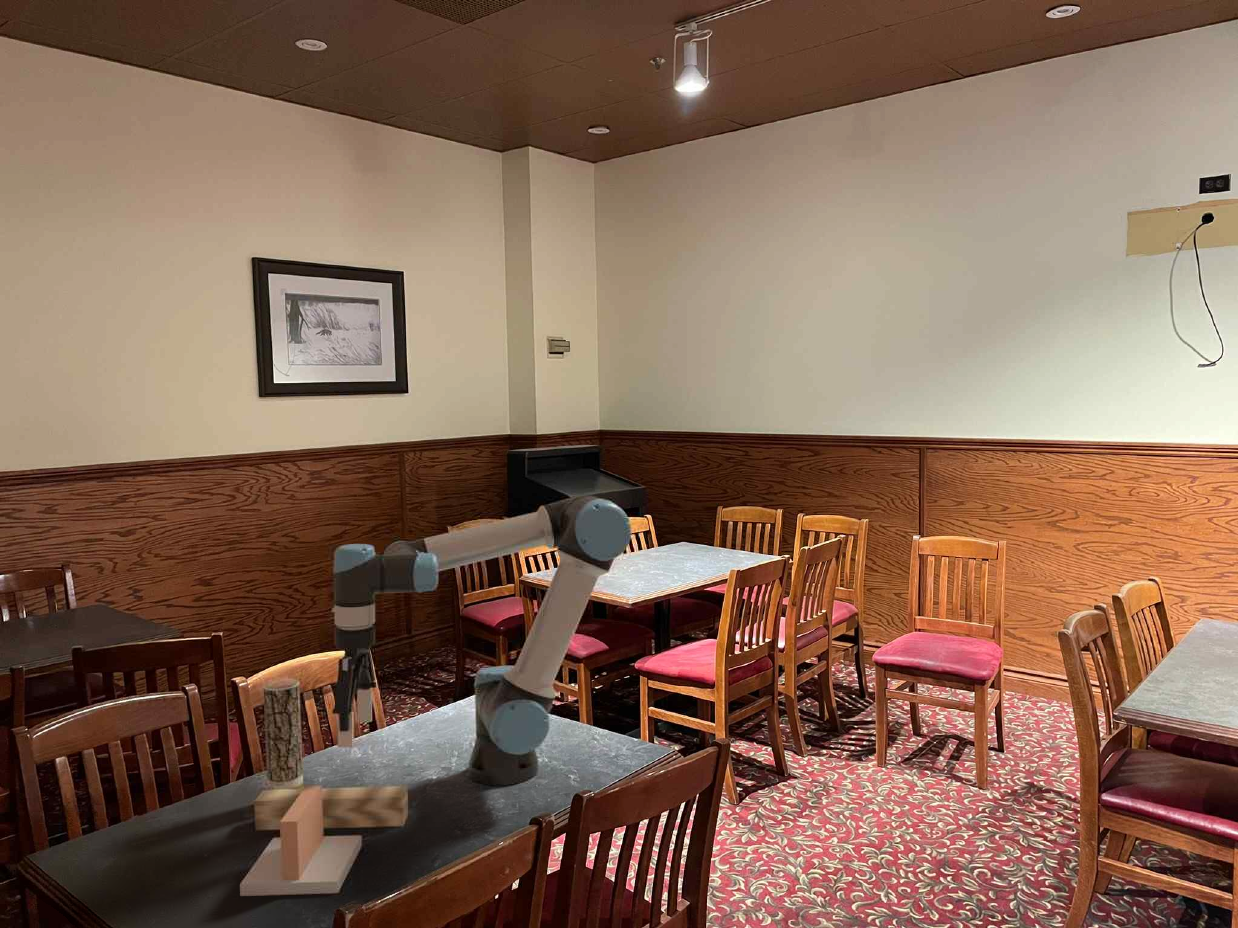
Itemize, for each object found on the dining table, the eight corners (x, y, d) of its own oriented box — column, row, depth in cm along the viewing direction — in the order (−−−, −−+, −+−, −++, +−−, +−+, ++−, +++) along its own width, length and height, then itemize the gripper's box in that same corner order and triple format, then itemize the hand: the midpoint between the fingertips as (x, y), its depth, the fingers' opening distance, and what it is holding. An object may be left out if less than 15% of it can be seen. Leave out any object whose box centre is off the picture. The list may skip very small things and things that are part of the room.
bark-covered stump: (292, 811, 181) (287, 688, 179) (261, 808, 183) (256, 687, 181) (310, 796, 188) (305, 678, 186) (280, 794, 189) (275, 676, 187)
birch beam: (408, 815, 180) (407, 785, 179) (403, 827, 175) (402, 796, 174) (264, 819, 179) (263, 789, 178) (255, 831, 174) (254, 800, 173)
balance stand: (361, 845, 167) (359, 782, 166) (337, 892, 151) (335, 822, 150) (273, 848, 166) (271, 784, 166) (240, 895, 151) (237, 825, 150)
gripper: (352, 610, 187) (353, 711, 188) (314, 641, 162) (315, 758, 163) (389, 610, 187) (390, 711, 189) (356, 642, 162) (357, 758, 164)
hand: (355, 733), depth 176 cm, fingers open, 13 cm apart
